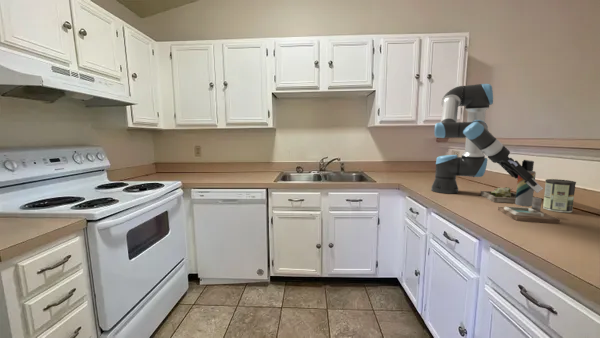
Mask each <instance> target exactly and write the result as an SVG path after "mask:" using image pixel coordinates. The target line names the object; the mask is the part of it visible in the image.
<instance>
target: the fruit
mask: <svg viewBox="0 0 600 338" xmlns="http://www.w3.org/2000/svg"><path fill="white" fill-rule="evenodd" d="M511 190H513V188H511V187H508V186H506V187H497V188H494V190H491V191H492V192H491V195H493V196H495V197H505V198H512V197H511V192H512V191H511Z"/></svg>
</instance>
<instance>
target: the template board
mask: <svg viewBox="0 0 600 338" xmlns="http://www.w3.org/2000/svg"><path fill="white" fill-rule="evenodd" d="M542 200H543V199H542V198H541V197H534V196H533V202H532V206H531V207H527V206H520V207H519V206H503V207H502V206H498V208H497V211H498V212H500V213H502V214H504V215H505V216H508V217H509V218H511V219H513V220H515V221H518V222H519V221H520V222H532V223H533V222H535V223H538V222H539V223H546V224H547V223H551V224H561V219H559V218H558V217H555V216H552V215H550V214H548V213H545V212H543V211H541V209H542Z"/></svg>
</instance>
